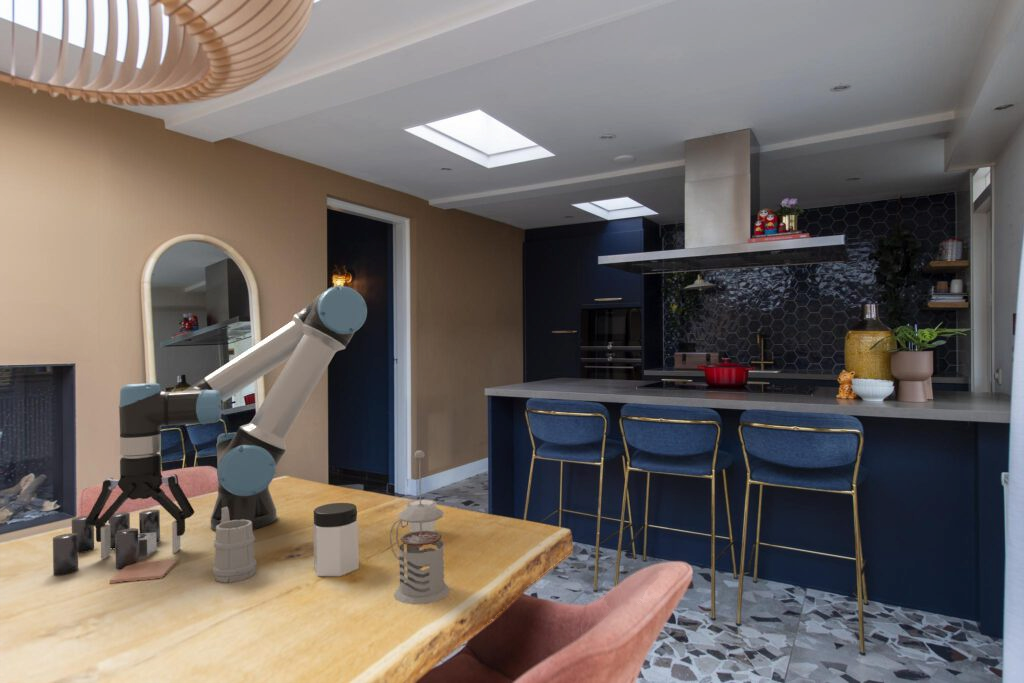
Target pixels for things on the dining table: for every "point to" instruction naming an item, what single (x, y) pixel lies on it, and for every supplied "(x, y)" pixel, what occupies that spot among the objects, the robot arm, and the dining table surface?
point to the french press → (420, 555)
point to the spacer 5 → (150, 522)
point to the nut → (147, 544)
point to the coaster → (144, 571)
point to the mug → (233, 549)
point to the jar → (335, 539)
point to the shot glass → (425, 526)
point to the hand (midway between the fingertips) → (141, 553)
